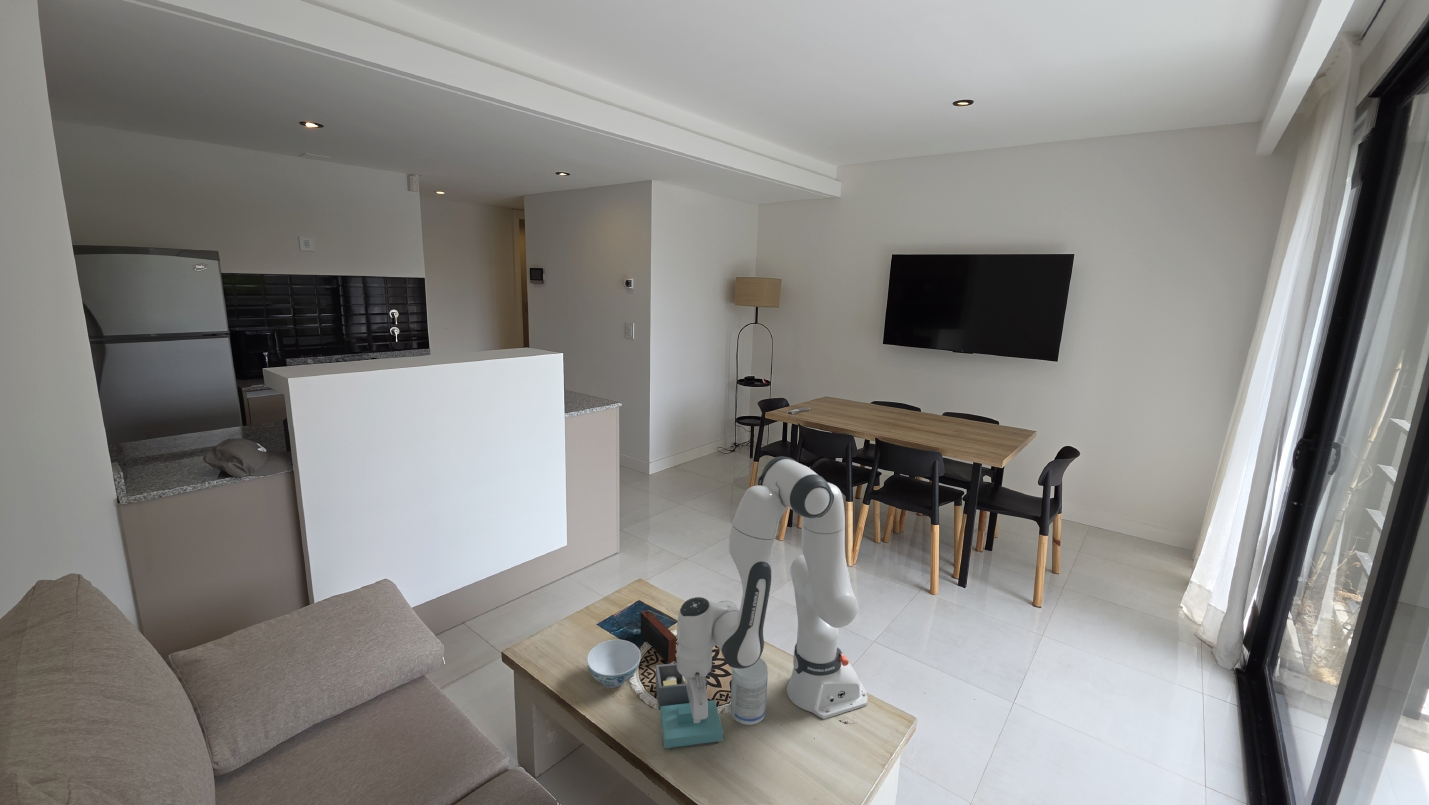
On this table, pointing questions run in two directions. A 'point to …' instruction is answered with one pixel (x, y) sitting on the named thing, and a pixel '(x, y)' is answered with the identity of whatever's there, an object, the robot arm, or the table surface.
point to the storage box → (671, 685)
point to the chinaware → (613, 662)
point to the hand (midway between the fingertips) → (693, 706)
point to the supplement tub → (749, 693)
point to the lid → (689, 726)
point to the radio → (658, 636)
